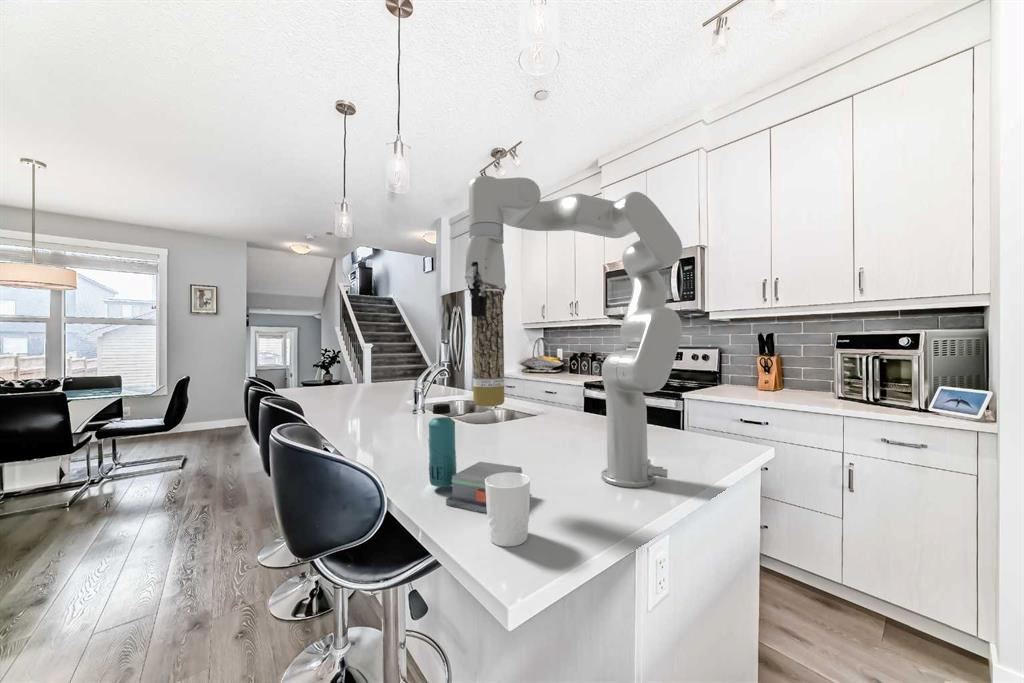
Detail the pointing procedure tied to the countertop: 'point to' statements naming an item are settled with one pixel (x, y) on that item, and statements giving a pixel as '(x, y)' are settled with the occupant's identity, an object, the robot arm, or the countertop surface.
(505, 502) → the white cup
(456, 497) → the stand
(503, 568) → the countertop surface
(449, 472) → the beverage bottle
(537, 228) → the robot arm
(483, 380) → the paper tube
